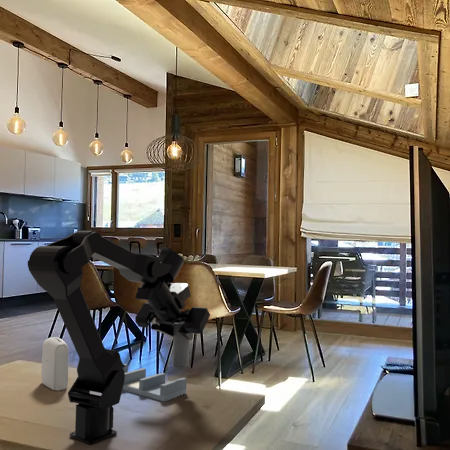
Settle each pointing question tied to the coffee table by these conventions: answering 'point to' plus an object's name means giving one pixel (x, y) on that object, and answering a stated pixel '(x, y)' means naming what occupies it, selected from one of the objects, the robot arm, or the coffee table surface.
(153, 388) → the grey divided tray
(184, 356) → the grey cylinder
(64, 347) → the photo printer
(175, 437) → the coffee table surface
